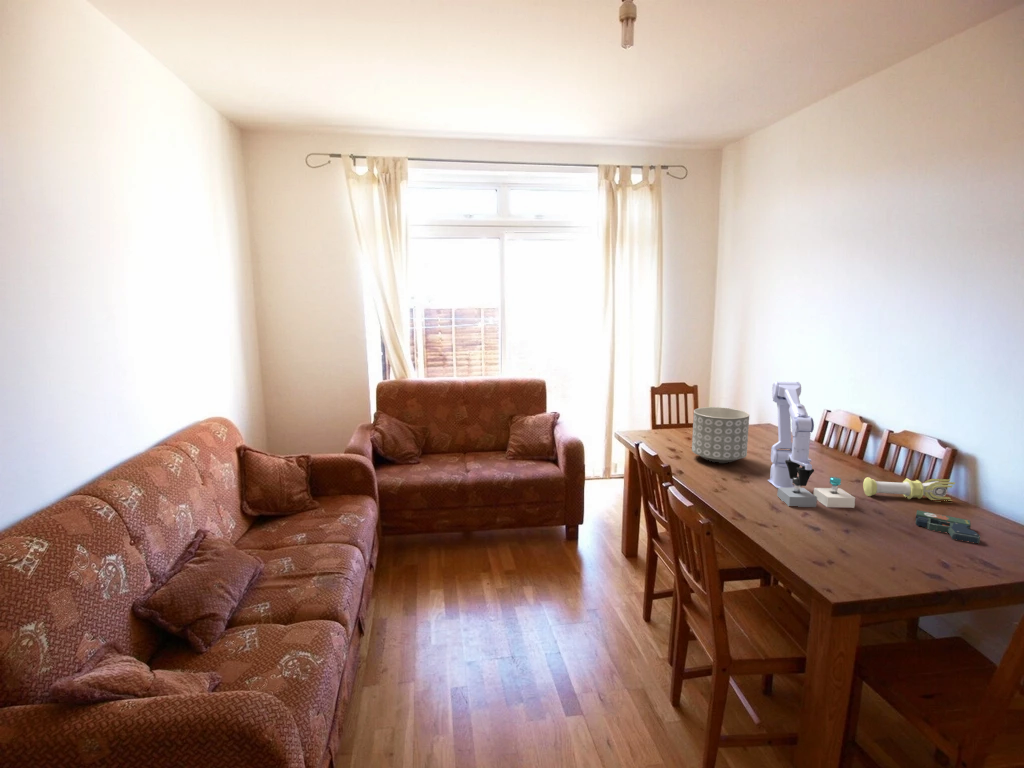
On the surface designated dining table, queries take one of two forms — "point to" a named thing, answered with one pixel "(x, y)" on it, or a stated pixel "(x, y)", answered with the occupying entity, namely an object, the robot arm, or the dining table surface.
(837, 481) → the teal round knob
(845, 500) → the cream block
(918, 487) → the yellow toy scepter
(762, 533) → the dining table surface
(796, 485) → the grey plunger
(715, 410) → the planter
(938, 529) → the gun
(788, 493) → the grey block
